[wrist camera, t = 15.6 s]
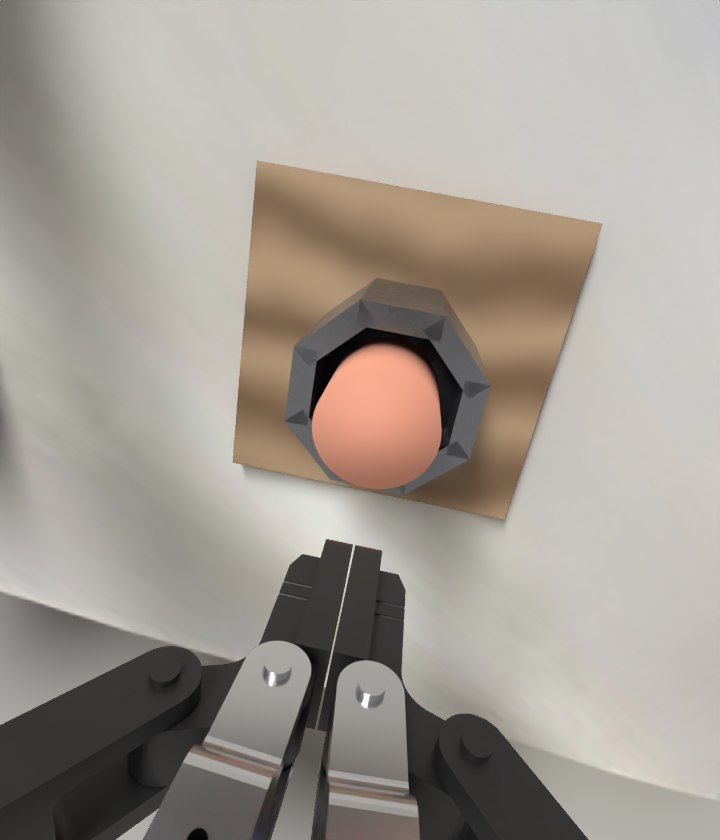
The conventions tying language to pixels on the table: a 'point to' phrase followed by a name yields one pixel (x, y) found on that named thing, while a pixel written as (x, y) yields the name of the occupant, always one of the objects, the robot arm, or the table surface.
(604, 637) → the table surface
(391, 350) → the salmon pink rounded cylinder
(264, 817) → the robot arm
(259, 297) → the walnut board
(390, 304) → the grey octagonal cup
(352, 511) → the table surface
